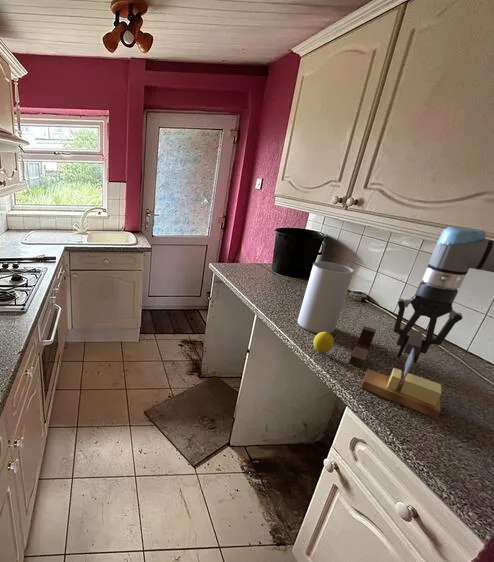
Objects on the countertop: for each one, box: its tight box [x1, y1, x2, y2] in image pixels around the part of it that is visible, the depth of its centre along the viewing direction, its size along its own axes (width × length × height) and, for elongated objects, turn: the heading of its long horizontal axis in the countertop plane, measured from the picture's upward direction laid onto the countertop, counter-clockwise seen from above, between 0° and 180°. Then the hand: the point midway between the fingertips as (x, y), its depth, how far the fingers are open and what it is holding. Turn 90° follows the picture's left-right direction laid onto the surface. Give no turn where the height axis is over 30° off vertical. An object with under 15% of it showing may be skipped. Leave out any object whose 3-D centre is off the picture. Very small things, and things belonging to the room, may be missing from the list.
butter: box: [400, 372, 442, 406], centre depth 84 cm, size 7×5×4 cm
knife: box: [403, 328, 423, 379], centre depth 88 cm, size 3×21×6 cm, turn 136°
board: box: [360, 368, 441, 419], centre depth 87 cm, size 16×8×2 cm, turn 46°
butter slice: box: [387, 367, 403, 390], centre depth 87 cm, size 2×5×4 cm, turn 136°
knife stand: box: [348, 325, 377, 369], centre depth 105 cm, size 4×20×6 cm, turn 136°
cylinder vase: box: [297, 261, 355, 335], centre depth 118 cm, size 12×12×25 cm
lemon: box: [312, 332, 335, 354], centre depth 105 cm, size 6×6×8 cm
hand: (406, 357), depth 92 cm, fingers closed on knife, 3 cm apart
